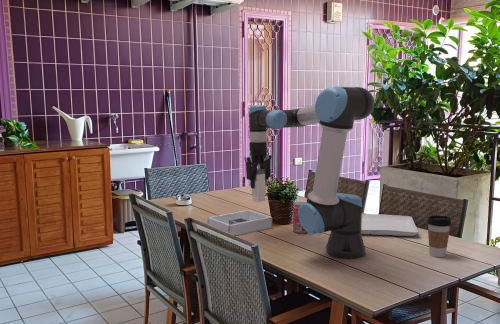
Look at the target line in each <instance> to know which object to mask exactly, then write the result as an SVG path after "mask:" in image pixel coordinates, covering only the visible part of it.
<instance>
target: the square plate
mask: <svg viewBox="0 0 500 324" xmlns="http://www.w3.org/2000/svg"><path fill="white" fill-rule="evenodd" d="M370 234H371V236H388V235H392V236H391V237H413V236H415V235H417V234H419V230H418V227H417V225H416V224H415V221H414V219H413V217H412V216H409V215H408V216H407V215H399V214H398V215H395V214H381V213H380V214H379V213H378V214H377V213H376V214H375V213H374V214H373V213H372V214H371V213H368V214H367V213H365V214H364V213H362V225H361V235H369V236H370Z"/></svg>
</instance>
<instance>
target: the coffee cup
mask: <svg viewBox="0 0 500 324" xmlns="http://www.w3.org/2000/svg"><path fill="white" fill-rule="evenodd" d="M427 224H428V226H427V237H428V254H429V256H431V257H434V258H446V256H447V251H448V249H447V248H448V243H449V238H450V232H451V231H450V226H451V225H452V222H451V217H450V216H448V215H447V216H446V215H429V216H428V218H427Z"/></svg>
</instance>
